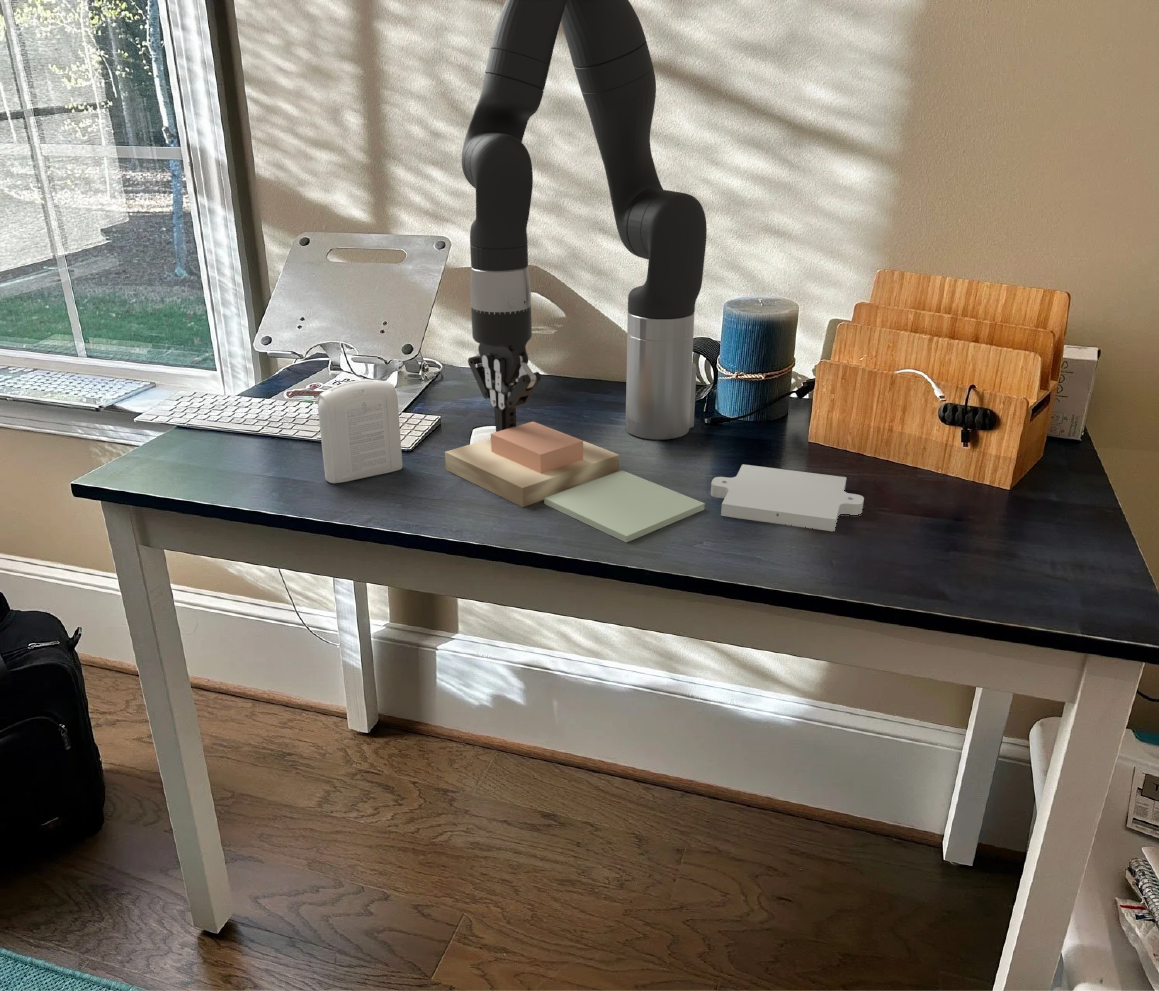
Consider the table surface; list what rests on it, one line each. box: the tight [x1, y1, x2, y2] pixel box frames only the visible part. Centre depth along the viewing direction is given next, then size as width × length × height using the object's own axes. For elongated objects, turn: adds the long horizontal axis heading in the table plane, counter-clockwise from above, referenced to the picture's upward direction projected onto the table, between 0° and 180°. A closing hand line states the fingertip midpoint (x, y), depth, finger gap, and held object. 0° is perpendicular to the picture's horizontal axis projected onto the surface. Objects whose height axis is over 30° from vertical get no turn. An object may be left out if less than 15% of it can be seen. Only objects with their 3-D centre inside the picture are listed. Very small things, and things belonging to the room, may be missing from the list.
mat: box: [543, 469, 706, 543], centre depth 114 cm, size 13×14×1 cm
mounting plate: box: [710, 464, 865, 533], centre depth 115 cm, size 18×13×2 cm
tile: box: [490, 421, 584, 473], centre depth 122 cm, size 7×10×2 cm
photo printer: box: [317, 379, 403, 484], centre depth 121 cm, size 10×4×12 cm, turn 123°
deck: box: [444, 424, 620, 508], centre depth 124 cm, size 16×16×2 cm
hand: (505, 433), depth 126 cm, fingers closed
